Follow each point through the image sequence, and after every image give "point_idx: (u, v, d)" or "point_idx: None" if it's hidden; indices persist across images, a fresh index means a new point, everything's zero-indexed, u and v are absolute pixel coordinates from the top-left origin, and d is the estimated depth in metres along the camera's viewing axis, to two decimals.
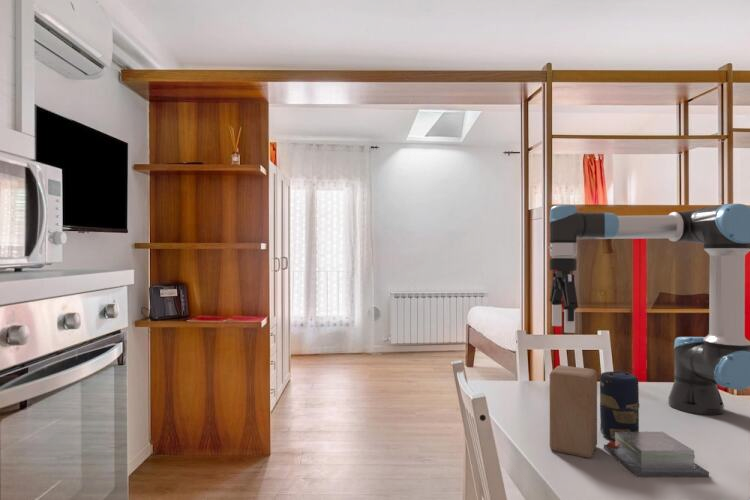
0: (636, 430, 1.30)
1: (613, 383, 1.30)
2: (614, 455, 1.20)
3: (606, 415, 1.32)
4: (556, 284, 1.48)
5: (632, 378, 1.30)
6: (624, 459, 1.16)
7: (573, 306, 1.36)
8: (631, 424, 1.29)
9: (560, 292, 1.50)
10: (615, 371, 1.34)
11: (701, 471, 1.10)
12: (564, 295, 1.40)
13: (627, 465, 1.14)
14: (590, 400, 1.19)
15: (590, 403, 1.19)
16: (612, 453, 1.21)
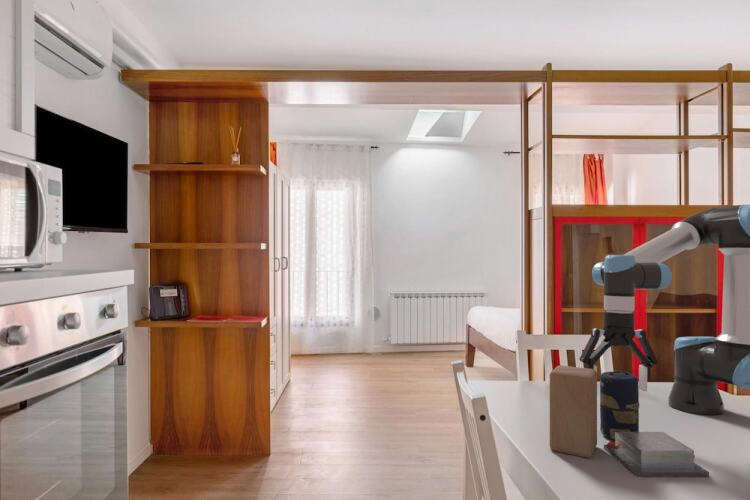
0: (636, 430, 1.30)
1: (613, 383, 1.30)
2: (614, 455, 1.20)
3: (606, 415, 1.32)
4: None
5: (632, 378, 1.30)
6: (624, 459, 1.16)
7: (581, 360, 1.34)
8: (631, 424, 1.29)
9: (634, 351, 1.33)
10: (615, 371, 1.34)
11: (701, 471, 1.10)
12: (595, 350, 1.35)
13: (627, 465, 1.14)
14: (590, 400, 1.19)
15: (590, 403, 1.19)
16: (612, 453, 1.21)
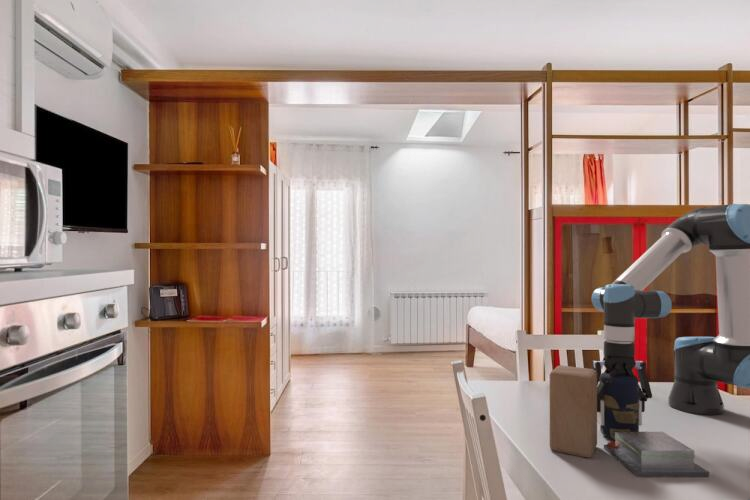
0: (636, 430, 1.30)
1: (613, 383, 1.30)
2: (614, 455, 1.20)
3: (606, 415, 1.32)
4: None
5: (632, 378, 1.30)
6: (624, 459, 1.16)
7: None
8: (631, 424, 1.29)
9: None
10: None
11: (701, 471, 1.10)
12: None
13: (627, 465, 1.14)
14: (590, 400, 1.19)
15: (590, 403, 1.19)
16: (612, 453, 1.21)
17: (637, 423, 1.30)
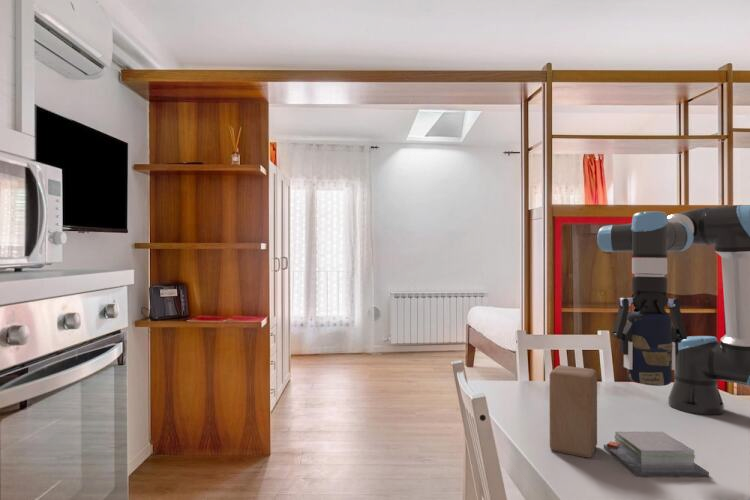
0: (669, 374, 1.15)
1: (643, 320, 1.15)
2: (614, 455, 1.20)
3: (635, 357, 1.17)
4: None
5: (664, 315, 1.15)
6: (624, 459, 1.16)
7: (614, 336, 1.19)
8: (664, 366, 1.14)
9: None
10: None
11: (701, 471, 1.10)
12: None
13: (627, 465, 1.14)
14: (590, 400, 1.19)
15: (590, 403, 1.19)
16: (612, 453, 1.21)
17: (670, 366, 1.15)
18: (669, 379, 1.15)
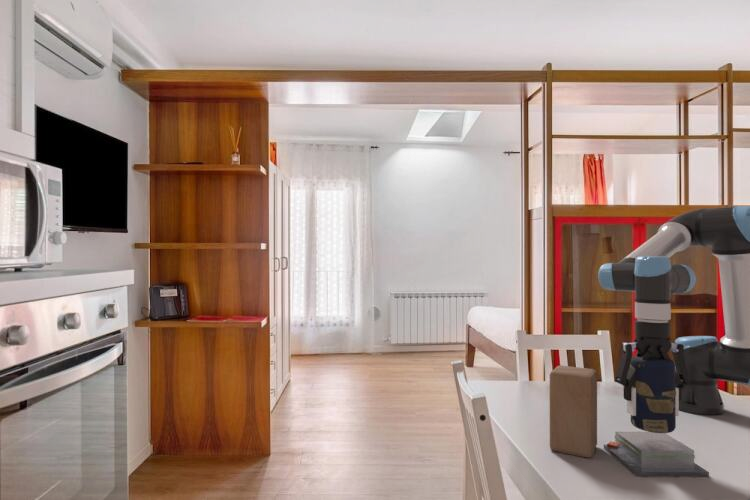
0: (673, 421, 1.14)
1: (647, 367, 1.14)
2: (614, 455, 1.20)
3: (639, 404, 1.16)
4: None
5: (668, 362, 1.14)
6: (624, 459, 1.16)
7: (618, 381, 1.18)
8: (668, 414, 1.13)
9: None
10: None
11: (701, 471, 1.10)
12: (630, 367, 1.19)
13: (627, 465, 1.14)
14: (590, 400, 1.19)
15: (590, 403, 1.19)
16: (612, 453, 1.21)
17: (674, 413, 1.14)
18: (673, 426, 1.14)
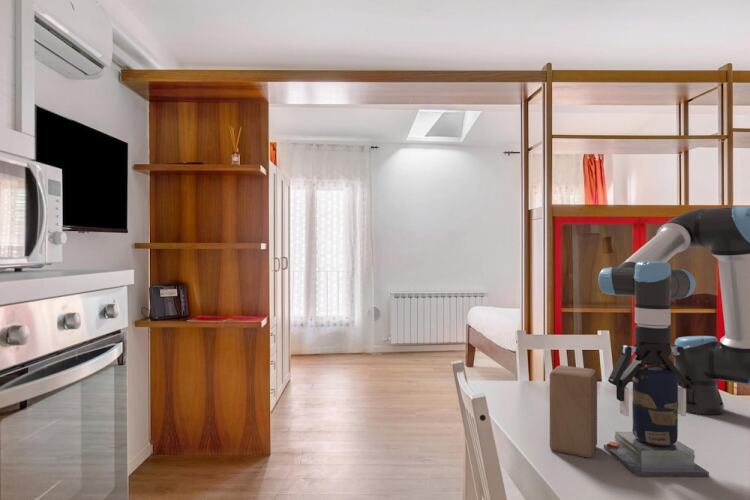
0: (675, 433, 1.14)
1: (650, 379, 1.14)
2: (614, 455, 1.20)
3: (641, 415, 1.16)
4: None
5: (671, 374, 1.14)
6: (624, 459, 1.16)
7: (610, 382, 1.18)
8: (670, 426, 1.13)
9: None
10: (651, 366, 1.18)
11: (701, 471, 1.10)
12: None
13: (627, 465, 1.14)
14: (590, 400, 1.19)
15: (590, 403, 1.19)
16: (612, 453, 1.21)
17: (676, 425, 1.14)
18: (675, 438, 1.14)
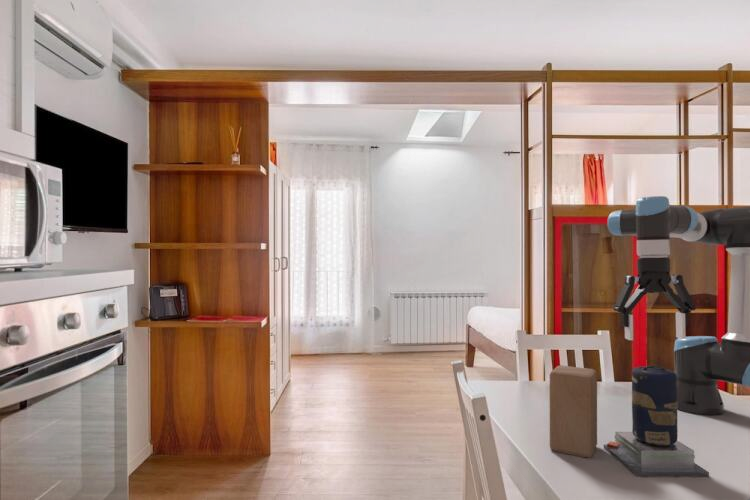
0: (675, 433, 1.14)
1: (649, 379, 1.14)
2: (614, 455, 1.20)
3: (641, 415, 1.16)
4: None
5: (670, 373, 1.14)
6: (624, 459, 1.16)
7: (616, 309, 1.27)
8: (670, 425, 1.13)
9: (670, 297, 1.27)
10: (650, 366, 1.18)
11: (701, 471, 1.10)
12: None
13: (627, 465, 1.14)
14: (590, 400, 1.19)
15: (590, 403, 1.19)
16: (612, 453, 1.21)
17: (676, 425, 1.14)
18: (675, 438, 1.14)
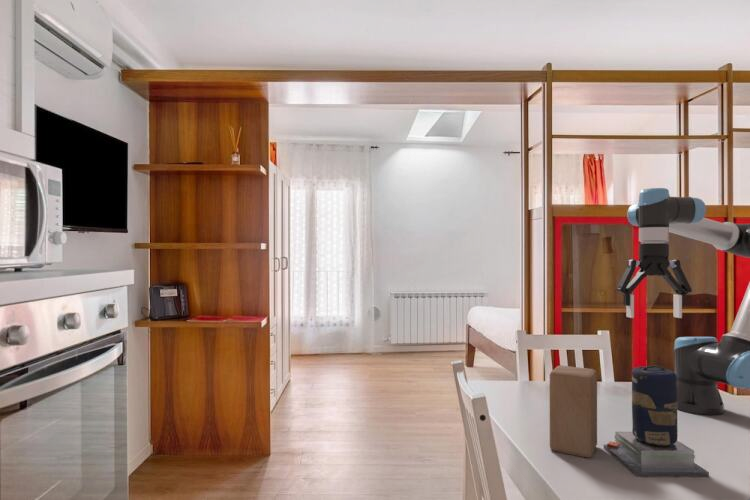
0: (675, 433, 1.14)
1: (649, 379, 1.14)
2: (614, 455, 1.20)
3: (641, 415, 1.16)
4: None
5: (670, 373, 1.14)
6: (624, 459, 1.16)
7: (618, 290, 1.40)
8: (670, 426, 1.13)
9: (668, 280, 1.40)
10: (650, 366, 1.18)
11: (701, 471, 1.10)
12: (631, 280, 1.41)
13: (627, 465, 1.14)
14: (590, 400, 1.19)
15: (590, 403, 1.19)
16: (612, 453, 1.21)
17: (676, 425, 1.14)
18: (675, 438, 1.14)
